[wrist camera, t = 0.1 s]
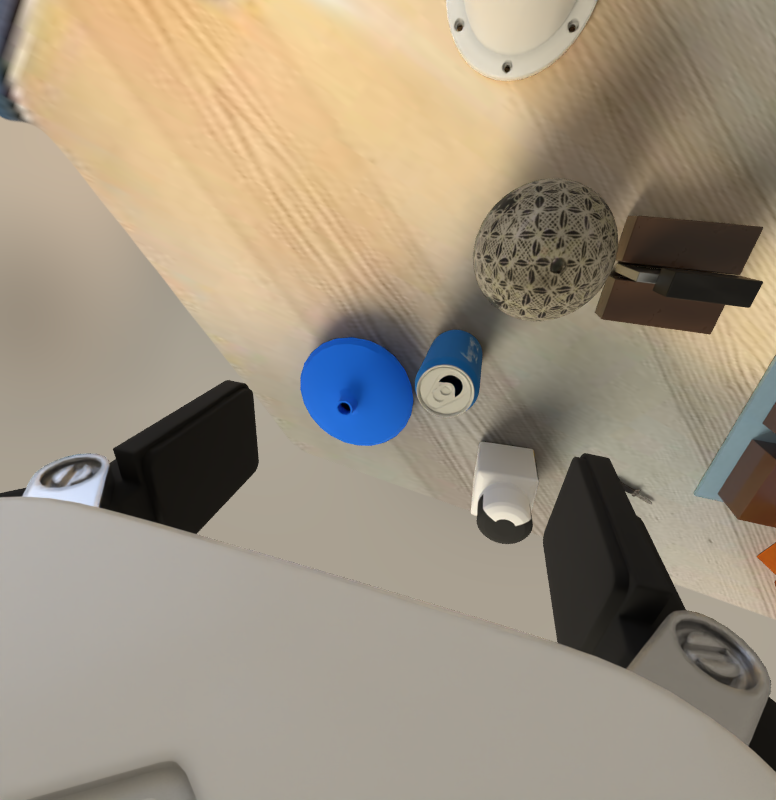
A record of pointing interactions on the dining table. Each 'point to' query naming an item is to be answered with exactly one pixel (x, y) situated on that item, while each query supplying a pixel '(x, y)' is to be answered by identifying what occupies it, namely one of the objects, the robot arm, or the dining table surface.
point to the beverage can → (450, 374)
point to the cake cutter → (695, 284)
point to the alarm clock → (769, 558)
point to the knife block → (678, 249)
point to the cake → (748, 459)
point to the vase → (356, 391)
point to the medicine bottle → (504, 491)
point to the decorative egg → (545, 249)
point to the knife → (635, 493)
